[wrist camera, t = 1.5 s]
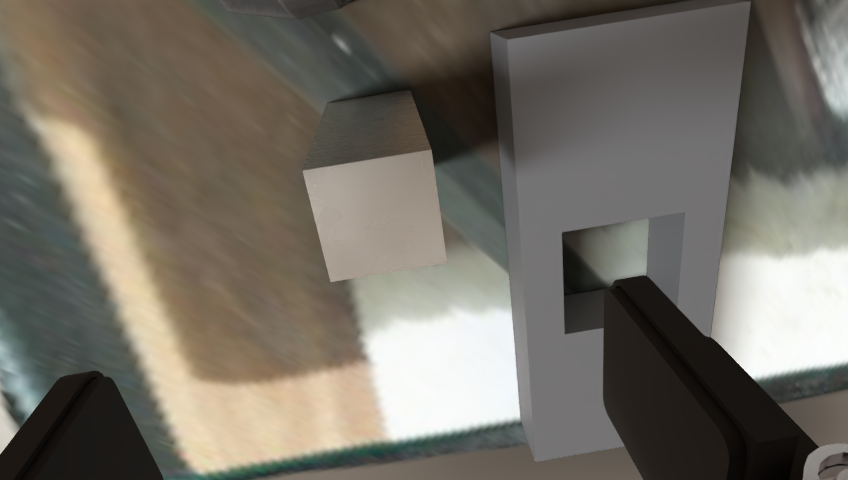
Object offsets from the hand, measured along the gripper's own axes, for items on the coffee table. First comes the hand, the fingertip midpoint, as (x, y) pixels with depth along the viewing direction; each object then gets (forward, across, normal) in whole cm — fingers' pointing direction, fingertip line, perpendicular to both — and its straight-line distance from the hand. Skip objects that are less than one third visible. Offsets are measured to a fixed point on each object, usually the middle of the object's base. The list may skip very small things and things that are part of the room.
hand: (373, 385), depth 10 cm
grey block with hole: (+18, -11, +8) cm, 23 cm away
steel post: (+18, 0, 0) cm, 18 cm away
